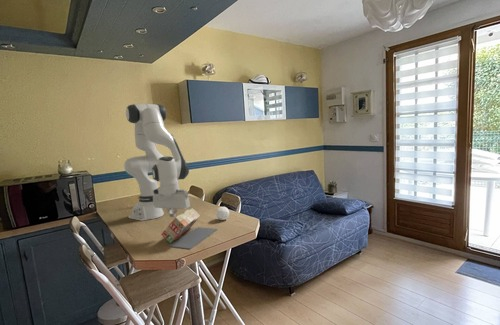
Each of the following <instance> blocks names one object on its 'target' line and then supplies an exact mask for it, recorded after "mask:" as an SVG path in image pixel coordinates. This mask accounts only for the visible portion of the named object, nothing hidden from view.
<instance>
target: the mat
mask: <svg viewBox="0 0 500 325" xmlns="http://www.w3.org/2000/svg"><path fill="white" fill-rule="evenodd" d="M217 231H218V228H212V227H201V226H198V227H196V228H194V229H193V230H191V231H189V232H188V233H186V234H185V235H183V236H180V237H179V238H177V239H176V240H175V241H173V242H172V243H169V244H168V245H167V246H168V247H170V248H178V249H185V250H191V249H193V248H194V247H195V246H197V245H198V244H199V243H201V242H203V241H204V240H206V238H209V237H210V236H211V235H213V234H214V233H215V232H217Z"/></svg>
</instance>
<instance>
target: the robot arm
mask: <svg viewBox="0 0 500 325" xmlns="http://www.w3.org/2000/svg"><path fill="white" fill-rule="evenodd" d="M125 116H126V119H127V121H128V122H129V123H131V124H134V141H135V143H134V144H135V147H136V148H137V149H138V150H140V151H142V152H144V153H145V155H139V156H133V157H129V158H126V160H125V162H124V164H123V168H124V171H125V173H127V174H128V175H130V176H131V177H133V178H134V179H135V181H136V182H137V184H138V188H139V194H140V196H138V197H137V199H139V201H138V202H137V203H136V204H135V205H134V206H133V207H132V209H131V214H129V215H128V218H129V219H130V220H137V221H141V222H142V221H147V220H153V219H154V220H155V219H157V218H161V217H163V216H164V215H165V212H164V210H163V209H166V212H167V213H168V216H169V218H175V217H177V212H178V210H188V209H189V208H190V207H191V202H190V197H189V192H187V190H186V189H180V186H179V185H180V184H179V180H185V179H186V178H187V176H189V173H190V169H189V165H188V163H187V162H186V160H185V159H184V156H183V154H182V151H181V149H180V147H179V144H178V142H177V140H176V138H175V136H174V135H173V134H172V133H170V132H169V131H168V130H167V129H166V126H165V123H164V122H165V121H166V120H167V110H166V107H165V106H164V105H162V104H156V103H155V104H154V103H153V104H152V103H141V104H129V105H128V106H127V107H126V109H125ZM156 144H157V145H162V146H164V147H166V148H168V149H169V150H170V153H171V155H172V156H164V154H162V153H161V152H159V150H158V149H157V147H156ZM149 173H152V177H150V176H149ZM158 182H159V183H158Z"/></svg>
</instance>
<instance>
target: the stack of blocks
mask: <svg viewBox="0 0 500 325" xmlns="http://www.w3.org/2000/svg"><path fill="white" fill-rule="evenodd" d="M200 217H201V215H200V213H198V211H197V210H195V209H194V208H190V209H185V211H184V212H181V213H180V214H179V215H176V217H174V218H173V220H172V221H171V222H170V223H169V224H168V226H167V227H166V229H164V230H163V232H162V233H161V234H160V235H161V236H162V237H163V238H164V239H165V240H166V242H168V243H169V244H172V243H173V242H175V241H177V240H178V239H179V238H181V237H182V235H183V234H184V233H186V232H187V231H188V230H190V229H191V228H192V227H193V225H194V224H195V223H196V222H197V221H198V219H199V218H200Z"/></svg>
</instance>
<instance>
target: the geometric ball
mask: <svg viewBox="0 0 500 325" xmlns="http://www.w3.org/2000/svg"><path fill="white" fill-rule="evenodd" d="M215 216H216V218H217V219H218V220H219V221H226V220H228V218H229V216H230V210H229V209H228V207H226V206H220V207H218V208H217V209H216V212H215Z"/></svg>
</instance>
